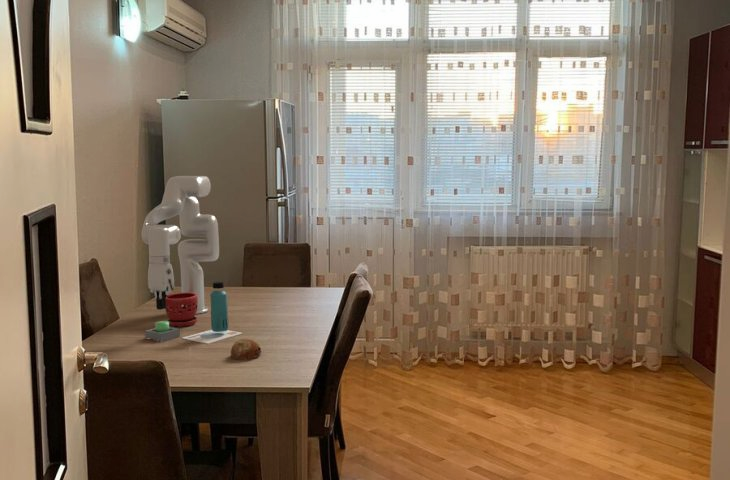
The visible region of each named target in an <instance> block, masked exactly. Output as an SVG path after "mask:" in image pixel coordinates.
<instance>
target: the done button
mask: <svg viewBox="0 0 730 480" xmlns="http://www.w3.org/2000/svg"><path fill="white" fill-rule="evenodd" d="M154 325H155V327H154V328H156V332H161V333H162V332H166V331H169V327H170V324H169V322H168V320H161V321H156V322H154Z"/></svg>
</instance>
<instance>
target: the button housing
mask: <svg viewBox="0 0 730 480" xmlns="http://www.w3.org/2000/svg"><path fill="white" fill-rule="evenodd" d="M144 336H145V337H146V338H150V339H154V340H153V341H155V340H158V341H157V342H159V341H163V342H165V340H167V341H170V340H174V339H178V338H180V337H181V330H180V328H177V327H176V328H175V327H173V326H172V327H171V326H169V331H166V332H162V333H161V332H156V328H155V327H154V328H150V329H147V330H144ZM177 337H178V338H177ZM173 338H174V339H173ZM150 339H149V340H150ZM169 339H170V340H169Z"/></svg>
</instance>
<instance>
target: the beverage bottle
mask: <svg viewBox="0 0 730 480" xmlns="http://www.w3.org/2000/svg"><path fill="white" fill-rule="evenodd" d="M224 285H225V284H224V281H214V282H213V283H212V288H213V289H217V290H213V291H212V292H210V295H209V296H210V320H211V321H210V322H211V323H210V325H211V330H212V331H214V332H224V331H227V330H229V316H228V313H229V312H228V309H229V308H228V293H227V292H226V291H225V290H223V289H224V287H225V286H224Z"/></svg>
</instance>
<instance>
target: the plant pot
mask: <svg viewBox="0 0 730 480" xmlns="http://www.w3.org/2000/svg"><path fill="white" fill-rule="evenodd" d="M182 305H184V306H183V307H182ZM186 306H187V307H186ZM197 306H198V299H197V294H195V293H182V292H178V293H172V294H169V295H167V298H166V309H165V313H166V315H167V317H168V320H167V321H168V322H169V326H172V327H179V328H180V327H181V328H182V327H188V326H191V325H194V324H195V323H197V322H198V317H196V315H197V314H196V312H197Z"/></svg>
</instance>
